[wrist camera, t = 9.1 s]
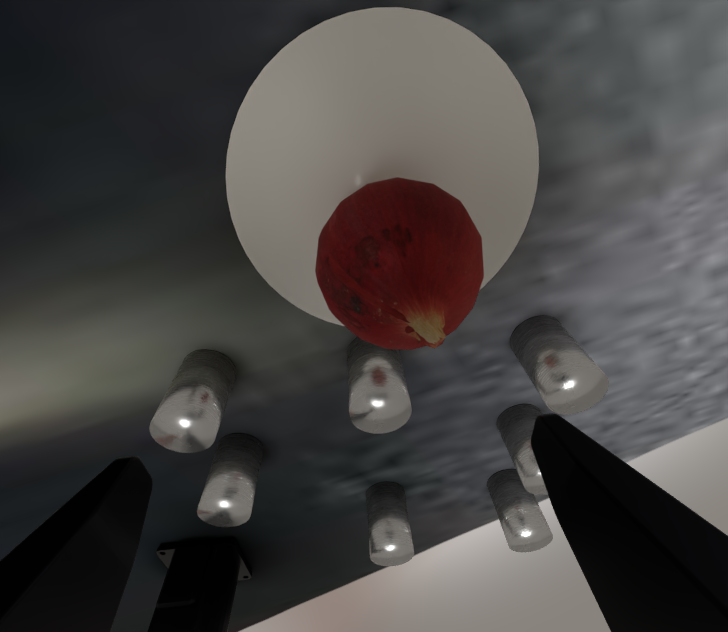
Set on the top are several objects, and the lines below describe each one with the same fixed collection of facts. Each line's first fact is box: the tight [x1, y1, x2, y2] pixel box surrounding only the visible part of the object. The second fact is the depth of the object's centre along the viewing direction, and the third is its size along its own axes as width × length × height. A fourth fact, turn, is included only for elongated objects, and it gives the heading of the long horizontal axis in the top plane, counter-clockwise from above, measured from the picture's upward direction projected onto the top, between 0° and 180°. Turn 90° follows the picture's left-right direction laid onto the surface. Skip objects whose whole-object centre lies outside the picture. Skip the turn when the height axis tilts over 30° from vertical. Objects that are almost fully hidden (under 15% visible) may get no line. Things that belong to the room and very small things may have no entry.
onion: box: [315, 177, 484, 349], centre depth 13 cm, size 6×6×8 cm
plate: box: [226, 7, 539, 326], centre depth 17 cm, size 13×13×1 cm
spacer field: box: [150, 316, 609, 566], centre depth 24 cm, size 17×22×4 cm
